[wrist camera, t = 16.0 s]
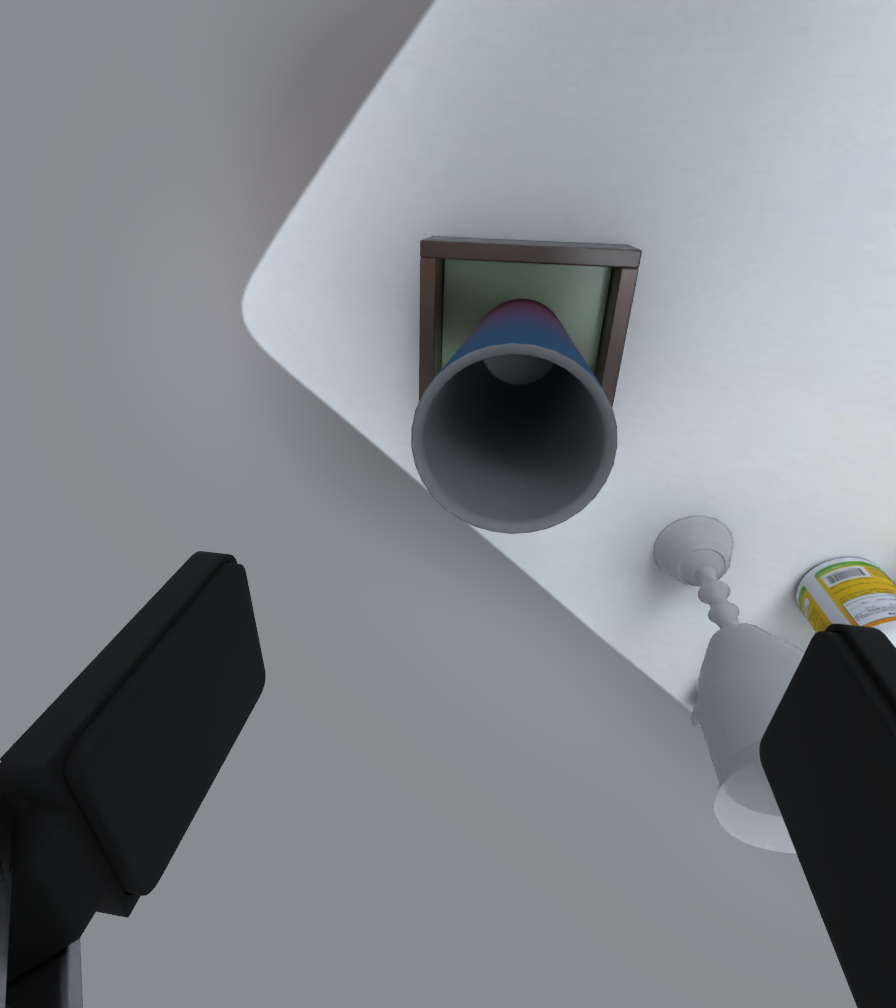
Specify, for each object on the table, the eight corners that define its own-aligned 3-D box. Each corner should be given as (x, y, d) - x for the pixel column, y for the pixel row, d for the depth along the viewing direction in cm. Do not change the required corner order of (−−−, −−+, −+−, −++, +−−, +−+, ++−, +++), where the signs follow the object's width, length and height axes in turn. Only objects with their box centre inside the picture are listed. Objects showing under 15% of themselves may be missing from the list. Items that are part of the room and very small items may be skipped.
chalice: (729, 485, 34) (895, 721, 19) (766, 563, 37) (942, 831, 21) (620, 533, 37) (686, 774, 21) (661, 602, 39) (747, 866, 24)
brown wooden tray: (431, 236, 30) (420, 239, 26) (630, 245, 29) (642, 250, 25) (428, 419, 35) (418, 440, 32) (596, 432, 34) (603, 456, 31)
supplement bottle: (842, 629, 38) (931, 749, 30) (776, 600, 38) (846, 714, 29) (903, 574, 36) (1018, 689, 27) (832, 542, 35) (927, 649, 27)
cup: (448, 298, 30) (385, 370, 17) (571, 266, 29) (603, 319, 16) (476, 412, 33) (440, 546, 20) (588, 389, 32) (628, 518, 19)
